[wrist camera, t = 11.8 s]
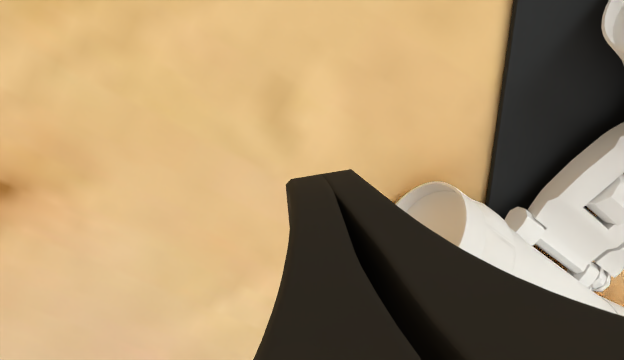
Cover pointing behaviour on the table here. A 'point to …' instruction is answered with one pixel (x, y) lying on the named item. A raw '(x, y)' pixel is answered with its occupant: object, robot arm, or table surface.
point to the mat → (551, 96)
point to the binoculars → (548, 215)
